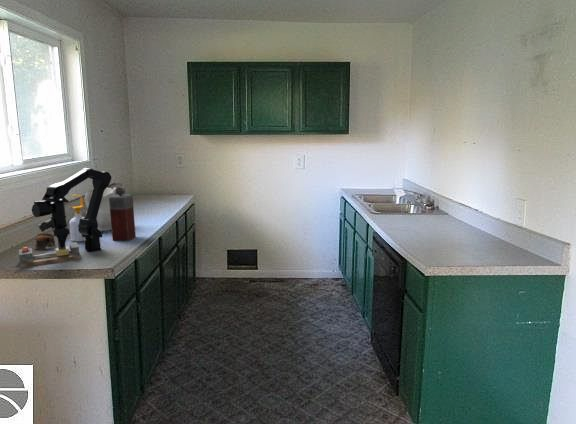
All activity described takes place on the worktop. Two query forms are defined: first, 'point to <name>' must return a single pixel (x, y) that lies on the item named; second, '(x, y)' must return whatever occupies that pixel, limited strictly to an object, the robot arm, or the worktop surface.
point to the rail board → (48, 256)
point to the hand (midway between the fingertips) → (61, 246)
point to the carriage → (62, 250)
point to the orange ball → (25, 249)
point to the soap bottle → (76, 222)
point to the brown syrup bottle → (122, 216)
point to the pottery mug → (44, 241)
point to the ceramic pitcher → (103, 209)
